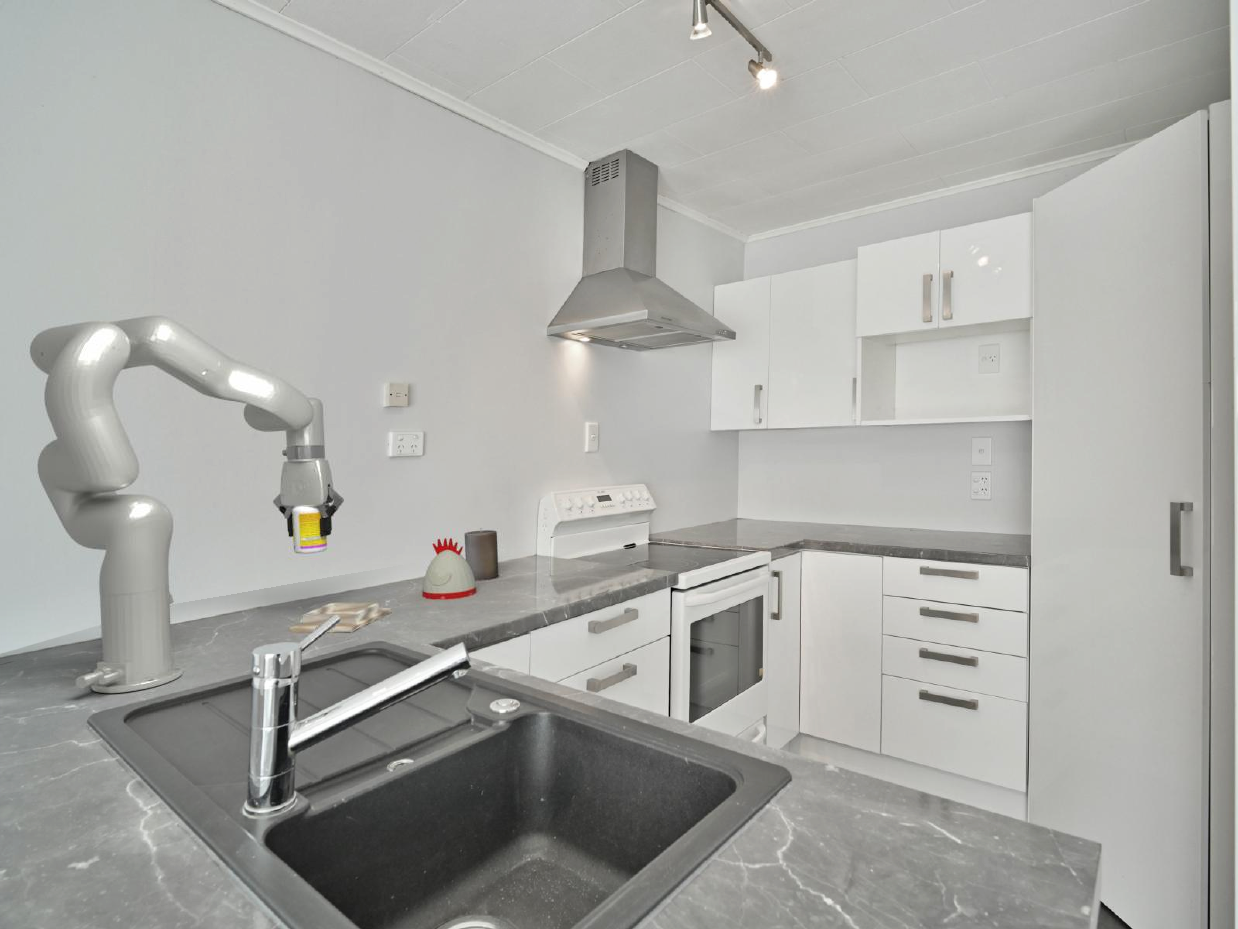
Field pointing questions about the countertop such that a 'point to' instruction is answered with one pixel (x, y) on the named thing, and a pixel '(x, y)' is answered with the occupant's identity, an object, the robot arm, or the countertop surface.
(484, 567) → the pillar candle
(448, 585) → the kitchen timer
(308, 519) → the supplement bottle
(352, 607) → the beige flat rectangular tray
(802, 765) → the countertop surface
